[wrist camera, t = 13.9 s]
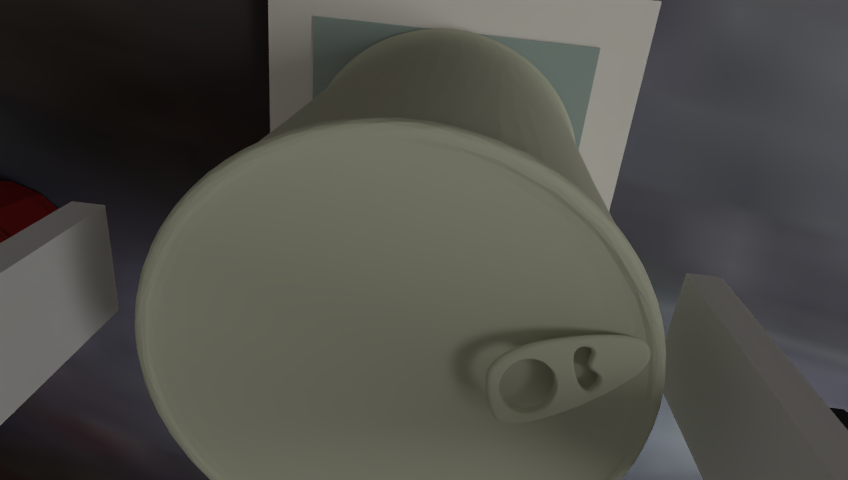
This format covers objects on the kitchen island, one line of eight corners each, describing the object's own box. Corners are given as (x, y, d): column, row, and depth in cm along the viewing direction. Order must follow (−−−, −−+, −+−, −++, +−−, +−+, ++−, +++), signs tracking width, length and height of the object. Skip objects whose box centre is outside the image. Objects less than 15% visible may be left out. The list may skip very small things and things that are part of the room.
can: (590, 265, 22) (693, 573, 11) (348, 301, 23) (228, 600, 12) (557, -3, 18) (662, 56, 7) (272, 62, 20) (8, 191, 9)
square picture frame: (279, 283, 24) (271, 295, 23) (275, -42, 19) (266, -42, 18) (575, 323, 24) (578, 336, 23) (654, -1, 19) (662, 1, 18)
